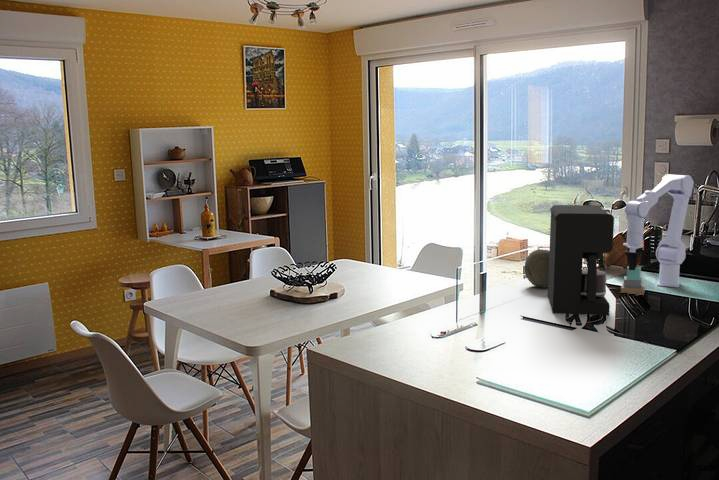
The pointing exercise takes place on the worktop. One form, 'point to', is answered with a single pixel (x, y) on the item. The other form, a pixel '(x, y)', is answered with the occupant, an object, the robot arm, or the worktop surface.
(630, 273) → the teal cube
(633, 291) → the walnut slab
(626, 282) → the grey square block
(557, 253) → the coffee maker
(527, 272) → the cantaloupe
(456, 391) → the worktop surface
